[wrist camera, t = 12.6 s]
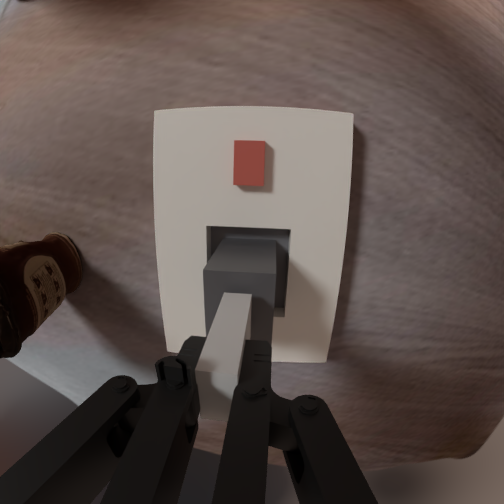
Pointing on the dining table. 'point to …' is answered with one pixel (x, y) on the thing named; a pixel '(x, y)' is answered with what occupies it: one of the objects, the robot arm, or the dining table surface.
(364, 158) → the dining table surface
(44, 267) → the coffee cup
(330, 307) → the faceplate
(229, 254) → the plug
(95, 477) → the robot arm
